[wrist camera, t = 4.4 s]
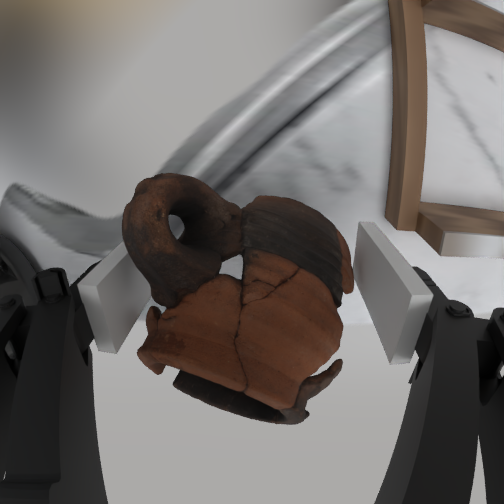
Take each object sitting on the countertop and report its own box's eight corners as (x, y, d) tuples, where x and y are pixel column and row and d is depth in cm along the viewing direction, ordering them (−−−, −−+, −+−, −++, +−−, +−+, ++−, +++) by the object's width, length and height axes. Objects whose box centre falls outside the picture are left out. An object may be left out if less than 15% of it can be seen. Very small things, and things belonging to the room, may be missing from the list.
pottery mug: (388, 288, 16) (360, 441, 11) (256, 304, 22) (210, 413, 17) (263, 82, 10) (112, 256, 5) (131, 174, 16) (35, 292, 11)
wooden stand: (384, 217, 23) (419, 255, 16) (387, -1, 16) (422, -38, 9) (518, 229, 21) (563, 261, 15) (528, 51, 14) (577, 46, 8)
